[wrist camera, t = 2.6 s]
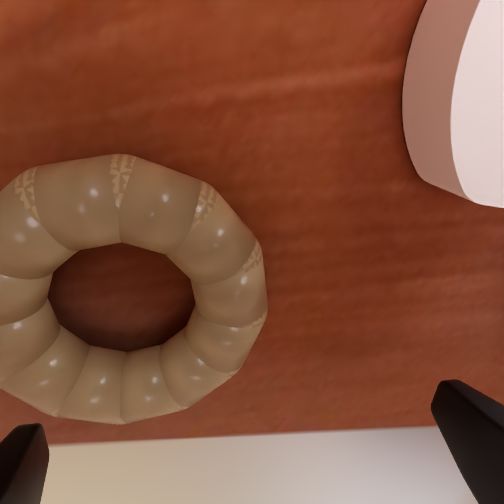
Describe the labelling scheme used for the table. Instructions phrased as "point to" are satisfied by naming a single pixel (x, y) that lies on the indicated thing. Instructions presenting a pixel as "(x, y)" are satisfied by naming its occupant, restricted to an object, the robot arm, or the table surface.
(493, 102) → the bracket
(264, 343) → the table surface
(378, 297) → the table surface
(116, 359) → the segmented ring
